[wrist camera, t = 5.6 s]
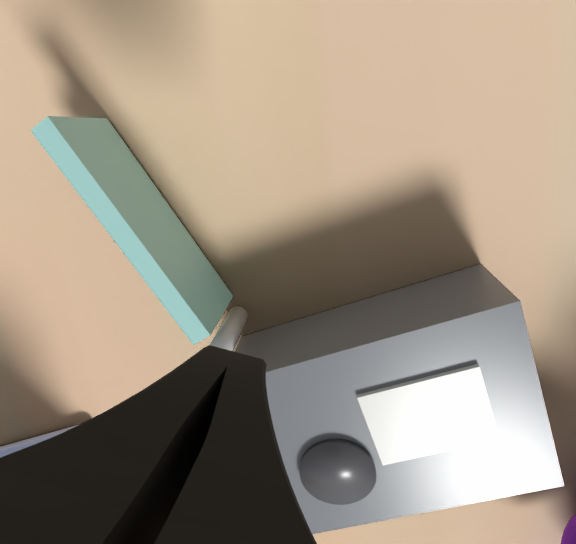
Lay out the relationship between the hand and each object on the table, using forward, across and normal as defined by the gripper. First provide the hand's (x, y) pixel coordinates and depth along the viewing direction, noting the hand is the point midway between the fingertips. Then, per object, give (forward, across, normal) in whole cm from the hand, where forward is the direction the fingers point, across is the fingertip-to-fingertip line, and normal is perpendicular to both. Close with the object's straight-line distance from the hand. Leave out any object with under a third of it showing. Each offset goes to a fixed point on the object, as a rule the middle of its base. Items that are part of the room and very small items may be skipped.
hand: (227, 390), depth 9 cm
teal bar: (+10, +5, 0) cm, 11 cm away
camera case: (+10, -6, +4) cm, 12 cm away
